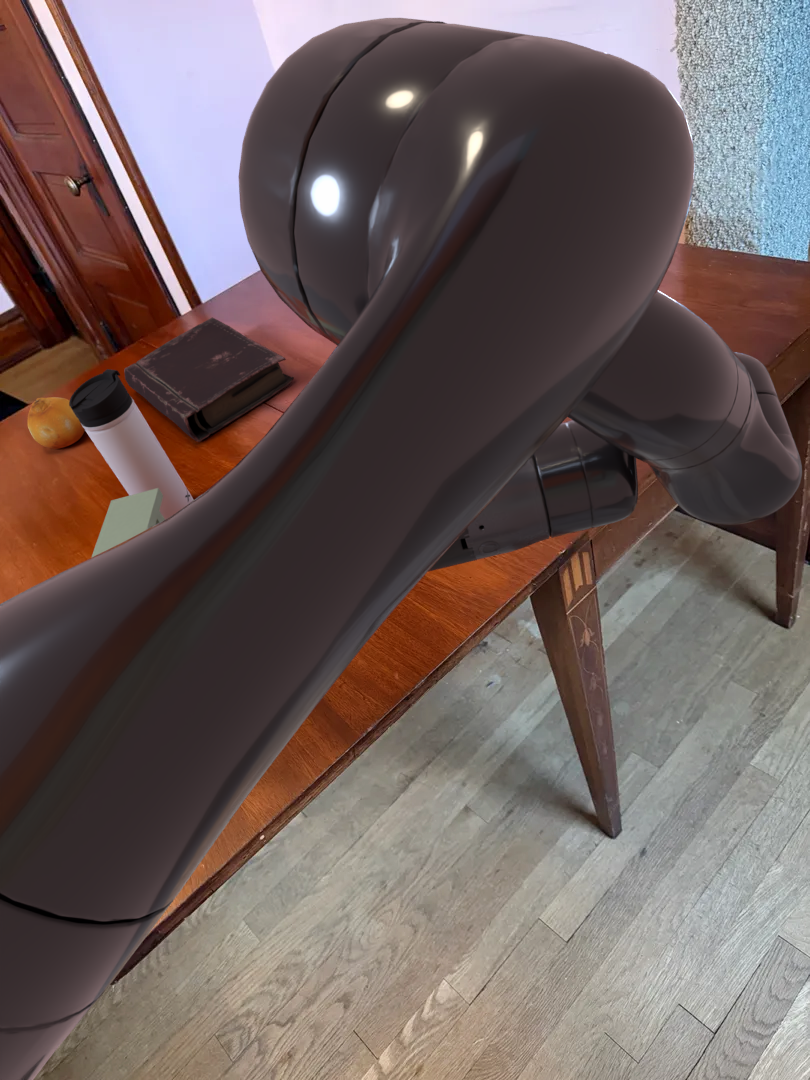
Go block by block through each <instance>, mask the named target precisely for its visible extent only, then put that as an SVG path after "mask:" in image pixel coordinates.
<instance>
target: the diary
mask: <svg viewBox="0 0 810 1080" xmlns="http://www.w3.org/2000/svg"><path fill="white" fill-rule="evenodd" d="M286 360H287V358H286V357H284V356H282V355H281V354H278V353H277V352H275V351H274V350H271V349H270V348H268V347H266V346H264V345H263V344H260V343H258V342H256V341H254V340H253V339H251V338H249V337H247V336H245V335H244V334H242V333H241V332H239V331H237V329H234V328H233V327H231V326H230V325H228V324H226V323H225V322H222V321H220V320H218V319H217V318H215V317H210V318H208V319H207V320H204V321H202V322H201V323H199V324H196V325H195V326H194V327H192V328H190V329H187V330H186V331H185V332H183V333H180V334H179V335H178V336H177V335H176V336H175V337H174V338H172V339H170V340H169V341H167V342H165V343H164V344H162V345H161V346H159V347H157V348H155V349H154V350H153V351H151V352H150V353H148V354H146V355H144V357H141V358H140V359H139V360H137V361H135V362H134V363H132V364H130V365H129V366H126V367H125V368H124V370H123V371H124V380H125V382H126V383H127V385H128V386H129V387H130V388H131V389H132V390H134V391H135V392H136V393H138V394H139V395H140V396H142V397H143V399H145V400H146V401H147V402H149V404H150V405H151V406H152V407H154V408H155V409H156V410H157V411H158V412H160V413H161V414H162V415H164V417H166V418H168V419H169V420H170V421H172V422H173V423H174V424H175V425H176V426H177V427H178V428H179V429H180V430H181V431H182V432H184V433H185V434H186V435H187V436H189V438H191V439H192V440H194V442H197V443H201V442H202V441H203V440H205V439H206V438H208V437H209V436H211V434H212V435H213V434H214V433H216V432H218V431H220V430H221V429H222V428H224V427H225V426H227V425H229V424H231V422H233V421H235V420H237V419H238V418H240V417H242V416H243V415H245V414H246V413H248V412H250V411H251V410H252V409H254V408H256V407H257V406H259V405H261V404H262V403H264V402H265V401H267V400H269V399H270V398H271V397H273V396H274V395H276V394H277V393H279V392H280V391H281V390H283V389H284V388H285V387H287V386H289V385H290V384H291V383H292V382H293V380H294V376H290V375H288V374H286V373H284V372H283V370H282V368H281V365H280V362H284V361H286Z"/></svg>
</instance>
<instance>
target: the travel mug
mask: <svg viewBox="0 0 810 1080" xmlns="http://www.w3.org/2000/svg"><path fill="white" fill-rule="evenodd" d="M119 376H121V373H120V372H119V370H117V369H112V368H111V369H110V368H106V369H105V370H104V371H103V372H102V373H98V374H97V375H94V376H93V377H90V378H89V379H88V380H85V382H83V383H81V385H79V386H78V387H77V388H76V389H75V391H74V392H73V393H72V394H71V397H70V398H69V400H70V402H69V406H70V407H71V409H72V410H73V412H74V414H75V415H76V417H77V418H78V419H79V421H80V423H81V425H82V427H83V428H84V429H85V431H84V432H86V434H87V435H88V437H89V438H90V440H91V441H92V443H93V444H94V446H95V447H96V449H97V451H98V452H99V453H100V455H101V456H102V457H103V459H104V461H105V462H106V464H107V465H108V466H109V468H110V470H111V471H112V472H113V474H114V476H115V477H116V478H117V479H118V481H119V482H120V484H121V485H122V487H123V489H124V490H125V492H126V493H127V494H128V496H130V495H134V494H138V493H141V492H145V491H149V490H153V489H156V488H159V490H160V491H161V493H162V494H163V499H162V502H161V506H160V510H159V511H160V513H161V514H162V516H163V517H164V519H167V518H169V517H171V516H172V515H174V514H175V513H176V512H178V511H179V510H181V509H182V508H183V507H185V506H186V505H188V504H189V503H191V502H192V501H193V500H195V499H194V498H193V496H192V494H191V493H190V491H189V489H188V487H187V486H186V485H185V483H184V481H183V480H182V478H181V477H180V474H179V473H178V471H177V470H176V468H175V466H174V465H173V463H172V462H171V460H170V458H169V456H168V454H167V453H166V451H165V450H164V448H163V446H162V445H161V443H160V441H159V440H158V438H157V436H156V435H155V433H154V432H153V430H152V429H151V426H149V424H148V422H147V420H146V419H145V417H144V415H143V414H142V412H141V411H140V409H139V407H138V405H137V404H136V402H135V400H134V399H133V397H132V396H131V395H130V393H129V391H128V390H127V388H126V386H125V384H124V383H123V381H122V380H121V378H120V377H119Z"/></svg>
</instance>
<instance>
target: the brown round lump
mask: <svg viewBox="0 0 810 1080" xmlns="http://www.w3.org/2000/svg"><path fill="white" fill-rule="evenodd" d="M69 402H70V399H67V398H64V397H57V396H52V397H37V398H36V399H35V401H33V403H32V404H31V405H30V409H29V411H28V414H27V417H26V419H27V420H26V421H27V423H26V424H27V428H28V429H27V430H28V431H29V433H30V435H31V437H32V438H33V440H34V441H35V442H36V443H37V444H38V445H41V446H42V447H44V448H47V449H51V450H52V449H55V450H59V449H63V448H67V447H69V446H71V445H74V444H75V443H77V442H78V441H79V440H80V439H81V438H82V437H83V435H84V433H85V432H86V431H85V429H84V428H83V427H82V425H81V423H80V421H79V419H78V418H77V417H76V415H75V414H74V412H73V410H72V409H71V407H70V406H69Z"/></svg>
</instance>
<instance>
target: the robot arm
mask: <svg viewBox="0 0 810 1080" xmlns="http://www.w3.org/2000/svg"><path fill="white" fill-rule="evenodd" d="M243 136H244V137H243V140H242V145H241V151H240V152H241V153H240V160H239V162H240V163H239V169H238V170H239V171H238V194H239V208H240V209H239V210H240V214H241V218H242V222H243V226H244V231H245V235H246V238H247V243H248V245H249V247H250V249H251V252H252V253H253V256H254V259H255V260H256V263H257V265H258V267H259V269H260V272H261V273H262V275H263V276H264V278H265V280H266V281H267V282H268V284H269V285H270V287H271V288H272V289H273V291H274V292H275V294H276V295H277V297H278V298H279V299H280V301H282V302H283V303H284V304H285V305H286V306H287V307H288V308H289V309H290V311H292V312H293V313H294V314H295V315H296V316H297V317H298V318H299V319H300V320H301V321H302V322H303V323H304V324H305V325H307V326H308V327H309V328H310V329H312V330H313V331H314V332H315V333H317V334H318V335H320V336H322V337H324V339H327V340H328V341H330V342H331V343H333V344H334V345H335V346H336V347H334V349H333V351H332V352H331V354H329V356H328V358H327V359H326V360H325V362H324V363H323V364H322V365H321V367H320V368H319V369H318V370H317V372H316V373H315V374H314V375H313V376H312V377H311V379H310V380H309V381H308V383H307V384H305V386H304V388H303V389H302V390H301V391H300V392H299V393H298V395H297V396H296V397H295V398H294V400H293V401H292V402H290V404H289V405H288V407H287V408H286V409H285V410H284V412H283V413H282V414H281V415H280V416H279V418H278V419H277V420H276V421H275V423H274V424H273V425H272V426H271V427H270V428H269V430H268V431H267V432H266V433H265V435H264V436H263V437H262V438H261V439H260V440H259V441H258V442H257V443H256V444H255V445H254V447H252V449H250V451H248V452H247V453H246V454H245V456H243V458H242V459H241V460H240V461H239V462H238V463H237V464H236V465H235V466H234V467H232V468H231V469H230V470H229V471H227V472H226V474H224V475H223V476H222V477H221V478H219V479H218V480H217V481H216V482H215V483H214V484H213V485H211V486H210V487H209V488H208V489H207V490H206V491H205V492H203V493H202V494H200V495H199V496H197V497H196V498H195V499H194V500H193V501H192V502H191V503H189V504H188V505H186V506H185V507H183V508H182V509H181V510H179V511H178V512H176V513H175V514H174V515H172V516H171V517H169V518H167V519H165V520H164V521H162V522H160V523H158V524H156V525H154V526H152V527H151V528H149V529H147V530H145V531H143V532H141V533H139V534H138V535H136V536H134V537H132V538H130V539H128V540H126V541H124V542H122V543H120V544H118V545H116V546H114V547H112V548H110V549H108V550H106V551H104V552H102V553H100V554H98V555H96V556H94V557H92V556H91V557H92V558H91V557H90V558H88V559H85V560H84V561H82V562H79V563H77V564H75V565H74V566H72V567H70V568H67V569H66V570H63V571H62V572H59V573H57V574H55V575H54V576H51V577H49V578H47V579H45V580H43V581H41V582H39V583H37V584H35V585H32V586H31V587H29V588H28V589H26V590H24V591H22V592H19V593H18V594H16V595H14V596H12V597H11V598H8V599H7V600H5V601H3V602H2V603H0V1080H34V1079H35V1078H37V1075H38V1074H39V1073H40V1072H41V1070H42V1069H43V1068H44V1066H45V1065H46V1063H48V1061H49V1059H51V1058H52V1056H53V1055H54V1053H55V1052H56V1051H57V1050H58V1049H59V1047H60V1046H61V1045H62V1043H63V1042H64V1041H65V1040H66V1039H67V1038H68V1036H69V1035H70V1034H71V1033H72V1032H73V1031H74V1030H75V1028H76V1027H77V1025H78V1024H79V1023H80V1022H81V1021H82V1020H83V1018H84V1017H85V1016H86V1015H87V1013H88V1012H89V1011H90V1010H91V1009H92V1008H93V1007H94V1005H95V1004H96V1003H97V1002H98V1001H99V1000H100V998H101V997H102V996H103V994H104V993H105V992H106V990H107V989H108V988H109V986H110V985H111V984H112V982H114V980H115V978H116V977H117V976H118V975H119V973H120V972H121V971H122V970H123V968H124V967H125V965H126V964H127V963H128V962H129V960H130V959H131V958H132V957H133V955H134V953H135V952H136V951H137V950H138V948H139V947H140V946H141V945H142V943H143V942H144V940H145V939H146V938H147V936H148V935H150V932H151V931H152V930H153V928H154V927H155V926H156V924H157V923H158V922H159V921H160V919H161V918H162V917H163V916H164V914H165V912H166V911H167V910H168V909H169V907H170V906H171V904H172V903H173V902H174V901H175V900H176V898H177V896H179V894H180V892H181V891H182V890H183V888H184V887H185V886H186V884H187V883H188V881H189V880H190V878H191V877H192V875H193V874H194V872H195V871H196V870H197V868H198V867H199V866H200V864H201V863H202V861H203V859H204V858H205V857H206V855H207V854H208V853H209V851H210V850H211V849H212V847H213V845H214V844H215V842H216V841H217V839H218V838H219V837H220V836H221V834H222V833H223V831H224V830H225V828H226V827H227V825H228V824H229V823H230V821H231V820H232V818H233V817H235V814H236V813H237V812H238V810H239V809H240V807H241V806H242V804H243V803H244V802H245V801H246V799H247V797H248V796H249V795H250V794H251V792H252V791H253V790H254V788H255V787H256V785H257V784H258V783H259V781H260V780H261V779H262V777H264V775H265V774H266V772H267V771H268V770H269V769H270V767H271V766H272V764H273V763H274V762H275V760H276V759H277V758H278V757H279V755H280V754H281V753H282V751H283V750H284V749H285V747H286V746H287V745H288V743H289V742H291V739H292V738H293V737H294V736H295V734H296V733H297V731H298V730H300V728H301V726H302V725H303V724H304V723H305V721H306V720H307V719H308V718H309V716H310V715H311V714H312V712H313V711H314V710H315V709H316V707H317V706H318V705H319V703H320V702H321V701H322V699H324V697H325V696H326V694H327V693H328V692H329V691H330V689H331V688H332V687H333V686H334V685H335V684H336V682H337V680H338V679H339V678H340V677H341V675H342V674H343V673H344V671H345V670H346V669H347V668H348V667H349V665H350V664H351V663H352V662H353V660H354V659H355V658H356V656H357V655H358V654H359V653H360V652H361V650H362V649H363V648H364V646H366V644H367V643H368V642H369V640H371V638H372V637H373V635H374V634H375V633H376V632H377V631H378V630H379V629H380V627H381V626H382V625H383V624H384V622H386V620H387V619H388V618H389V617H390V615H391V614H392V613H393V612H394V611H395V609H396V608H397V607H398V606H399V605H400V604H401V603H402V602H403V601H404V600H405V598H406V597H407V596H408V595H409V593H411V591H412V590H414V588H415V587H416V586H417V584H418V583H419V582H420V581H421V580H422V579H423V578H424V576H426V574H428V572H433V571H437V570H441V569H445V568H450V567H454V566H457V565H462V564H466V563H470V562H475V561H478V560H482V559H486V558H491V557H495V556H500V555H503V554H507V553H511V552H515V551H519V550H521V549H524V548H526V547H529V546H531V545H534V544H536V543H539V542H542V541H545V540H549V539H550V538H551V539H553V538H558V537H561V536H562V537H563V536H566V535H570V534H575V533H579V532H582V531H586V530H591V529H595V528H599V527H603V526H607V525H610V524H611V525H612V524H615V523H618V522H621V521H623V520H625V519H627V518H628V517H630V516H631V515H632V514H633V513H634V512H635V510H636V508H637V504H638V500H639V480H638V478H639V477H638V467H637V466H638V465H637V460H639V461H641V462H643V463H645V464H647V465H648V466H649V468H650V470H651V471H652V472H653V474H654V476H655V478H656V479H657V481H658V483H660V485H661V486H662V487H663V488H664V490H665V491H666V492H667V493H668V495H669V496H670V497H671V499H672V500H673V502H675V503H676V504H677V506H678V507H679V508H680V509H682V510H683V511H684V512H685V513H686V514H687V515H689V516H691V517H693V518H695V519H698V520H701V521H704V522H707V523H710V524H716V525H742V524H747V523H753V522H755V521H759V520H761V519H764V518H766V517H769V516H770V515H772V514H774V513H776V512H777V511H779V510H781V508H783V507H785V505H787V503H788V502H789V501H790V500H791V499H792V498H793V496H794V495H795V494H796V492H797V490H798V489H799V487H800V484H801V480H802V476H803V466H802V460H801V456H800V454H799V450H798V447H797V445H796V442H795V439H794V438H793V434H792V432H791V429H790V426H789V424H788V421H787V418H786V416H785V415H786V414H785V412H784V410H783V408H782V404H781V401H780V399H779V396H778V393H777V390H776V388H775V385H774V382H773V379H772V377H771V374H770V373H769V371H768V369H767V367H766V365H765V364H764V363H763V362H761V360H759V359H758V358H756V357H755V356H752V355H749V354H747V353H743V352H738V351H734V350H733V349H732V348H731V347H730V346H729V345H728V343H727V342H726V341H725V339H723V337H722V336H721V335H720V334H719V333H718V332H717V331H716V330H715V329H714V328H713V327H712V326H711V325H710V324H708V323H707V322H706V321H705V320H704V319H702V318H701V317H700V316H699V315H698V314H696V313H695V312H693V311H692V310H691V309H689V308H688V307H686V306H685V305H684V304H682V303H680V302H679V301H677V300H675V299H673V298H672V297H670V296H669V295H667V294H665V293H663V292H662V291H660V290H659V289H660V287H661V285H662V282H663V280H664V278H665V277H666V275H667V272H668V271H669V268H670V266H671V264H672V262H673V259H674V256H675V253H676V250H677V247H678V245H679V242H680V239H681V235H682V233H683V229H684V227H685V224H686V221H687V217H688V216H689V215H688V214H689V211H690V207H691V203H692V197H693V191H694V182H695V157H696V156H695V147H694V142H693V136H692V133H691V130H690V127H689V123H688V119H687V117H686V115H685V111H684V109H683V108H682V106H681V105H680V103H679V101H677V99H676V98H675V96H674V95H673V94H672V92H671V91H670V90H669V88H668V86H666V84H664V83H663V82H662V81H661V80H660V79H659V78H657V77H656V76H655V75H653V74H652V73H651V72H650V71H648V70H646V69H644V68H642V67H641V66H638V65H637V64H635V63H633V62H630V61H628V60H626V59H624V58H622V57H619V56H616V55H614V54H611V53H608V52H604V51H601V50H598V49H594V48H590V47H588V46H584V45H581V44H578V43H574V42H571V41H568V40H563V39H559V38H552V37H548V36H539V35H532V34H525V33H519V32H512V31H505V30H500V29H492V28H487V27H478V26H472V25H466V24H459V23H447V22H444V21H440V20H439V21H436V20H435V21H434V20H427V19H426V20H425V19H416V18H409V17H408V18H407V17H383V18H375V19H368V20H361V21H355V22H349V23H344V24H341V25H337V26H335V27H333V28H331V29H328V30H326V31H324V32H322V33H319V34H317V35H316V36H313V37H312V38H310V39H309V40H308V41H306V42H305V43H304V44H303V45H302V46H299V48H298V49H297V50H295V51H294V52H293V53H291V54H290V55H289V56H287V57H286V58H285V59H284V60H283V62H282V63H281V65H279V67H278V68H277V70H276V71H275V72H274V73H273V74H272V76H271V77H270V78H269V79H268V81H267V82H266V83H265V86H264V88H263V89H262V92H261V94H260V95H259V97H258V99H257V101H256V102H255V105H254V107H253V109H252V111H251V113H250V116H249V118H248V122H247V124H246V128H245V132H244V135H243ZM567 418H568V419H570V420H566V419H567ZM565 420H566V421H565Z"/></svg>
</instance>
